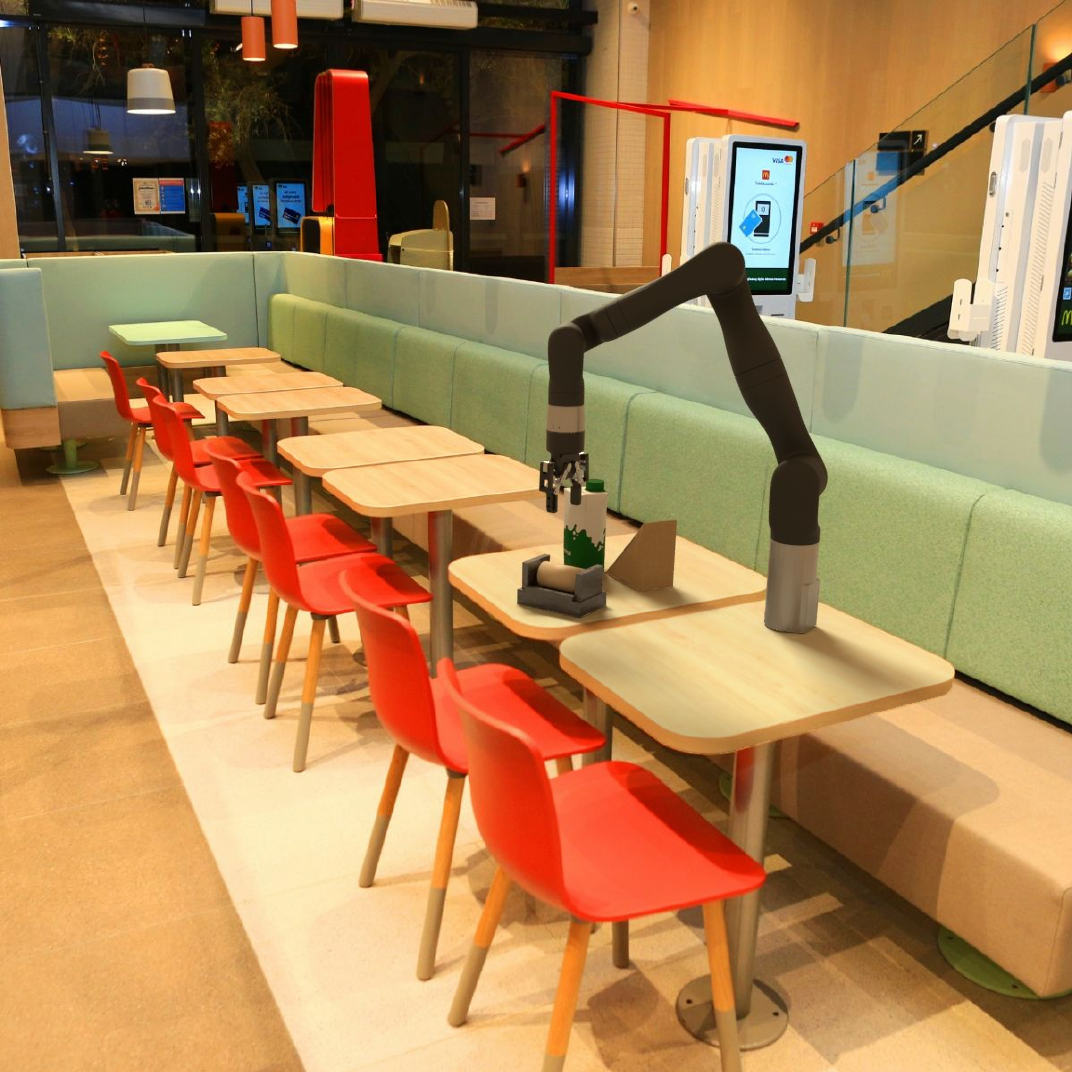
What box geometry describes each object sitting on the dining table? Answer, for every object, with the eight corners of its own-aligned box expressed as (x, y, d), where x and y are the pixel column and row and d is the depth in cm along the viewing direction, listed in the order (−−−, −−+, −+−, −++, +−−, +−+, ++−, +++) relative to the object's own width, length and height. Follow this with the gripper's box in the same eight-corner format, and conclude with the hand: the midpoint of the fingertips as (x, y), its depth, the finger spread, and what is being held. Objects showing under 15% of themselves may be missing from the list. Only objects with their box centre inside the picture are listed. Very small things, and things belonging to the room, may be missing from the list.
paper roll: (587, 593, 230) (590, 568, 230) (573, 595, 226) (576, 569, 225) (549, 585, 235) (552, 560, 235) (535, 586, 231) (537, 561, 231)
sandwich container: (636, 568, 258) (638, 503, 254) (674, 587, 245) (678, 519, 241) (603, 572, 254) (605, 507, 250) (640, 592, 241) (643, 523, 237)
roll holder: (606, 605, 232) (607, 564, 229) (579, 618, 224) (580, 576, 221) (544, 591, 240) (545, 552, 238) (517, 603, 232) (517, 562, 230)
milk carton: (609, 572, 254) (612, 484, 248) (570, 575, 251) (573, 486, 246) (595, 561, 262) (598, 476, 256) (558, 564, 259) (560, 478, 254)
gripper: (561, 434, 215) (559, 518, 219) (601, 424, 226) (598, 504, 230) (528, 430, 219) (527, 512, 223) (569, 420, 230) (567, 499, 234)
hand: (563, 508), depth 227 cm, fingers open, 8 cm apart
